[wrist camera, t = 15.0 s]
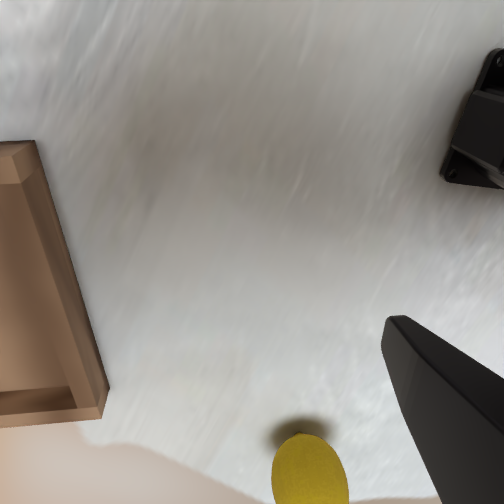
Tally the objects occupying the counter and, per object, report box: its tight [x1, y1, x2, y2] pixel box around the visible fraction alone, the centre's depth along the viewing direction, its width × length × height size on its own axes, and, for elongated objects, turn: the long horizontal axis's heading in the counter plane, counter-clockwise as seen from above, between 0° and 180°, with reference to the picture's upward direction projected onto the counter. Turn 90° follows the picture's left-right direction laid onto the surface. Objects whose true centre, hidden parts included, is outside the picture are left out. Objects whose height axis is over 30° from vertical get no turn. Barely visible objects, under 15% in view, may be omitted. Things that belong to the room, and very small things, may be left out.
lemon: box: [271, 432, 349, 504], centre depth 29 cm, size 6×6×8 cm
